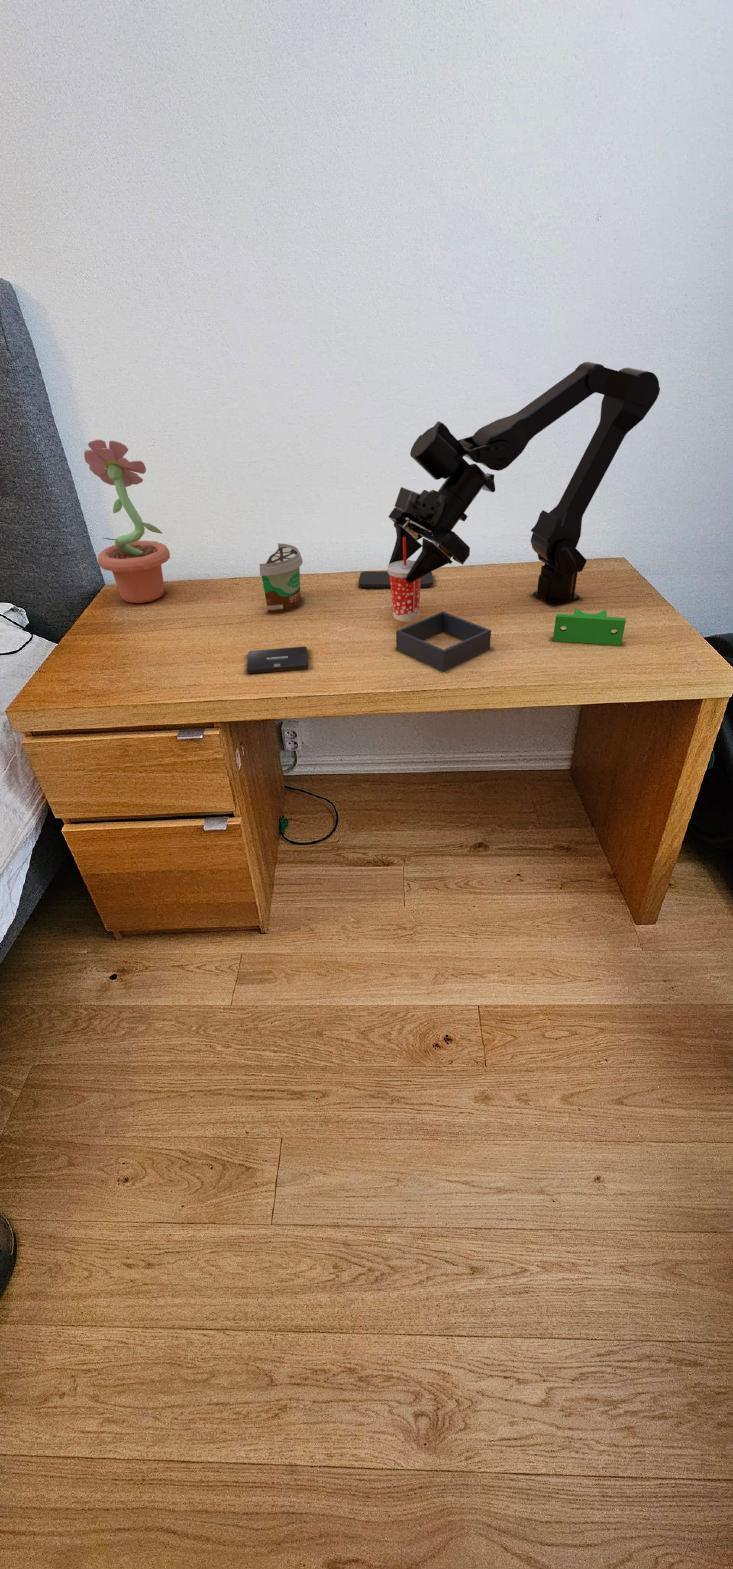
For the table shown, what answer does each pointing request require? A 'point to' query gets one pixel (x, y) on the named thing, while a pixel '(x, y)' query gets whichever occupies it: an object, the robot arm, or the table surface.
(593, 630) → the pipe clamp
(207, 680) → the table surface
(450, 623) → the box
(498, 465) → the robot arm
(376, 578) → the phone
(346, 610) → the table surface
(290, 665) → the solid state drive
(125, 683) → the table surface
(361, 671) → the table surface
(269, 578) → the food container
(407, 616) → the beverage cup
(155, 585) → the decorative flower
